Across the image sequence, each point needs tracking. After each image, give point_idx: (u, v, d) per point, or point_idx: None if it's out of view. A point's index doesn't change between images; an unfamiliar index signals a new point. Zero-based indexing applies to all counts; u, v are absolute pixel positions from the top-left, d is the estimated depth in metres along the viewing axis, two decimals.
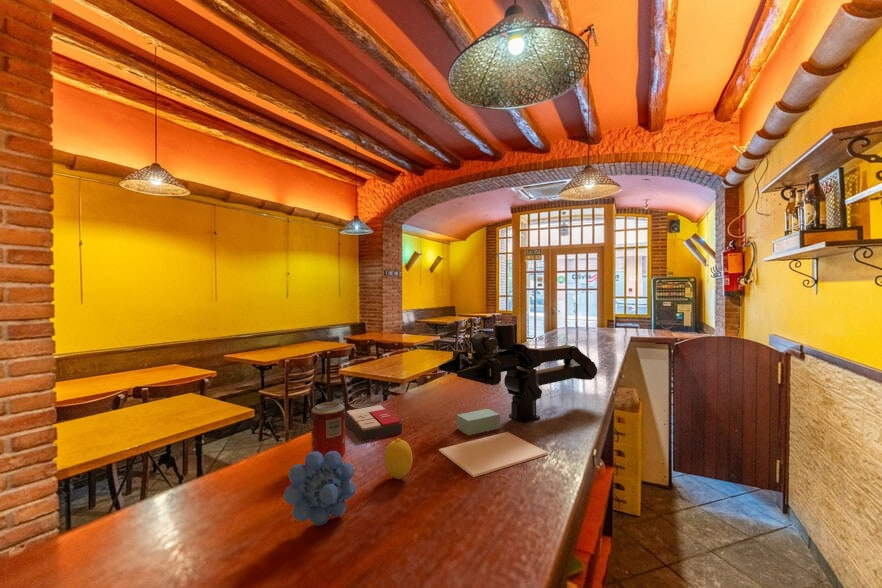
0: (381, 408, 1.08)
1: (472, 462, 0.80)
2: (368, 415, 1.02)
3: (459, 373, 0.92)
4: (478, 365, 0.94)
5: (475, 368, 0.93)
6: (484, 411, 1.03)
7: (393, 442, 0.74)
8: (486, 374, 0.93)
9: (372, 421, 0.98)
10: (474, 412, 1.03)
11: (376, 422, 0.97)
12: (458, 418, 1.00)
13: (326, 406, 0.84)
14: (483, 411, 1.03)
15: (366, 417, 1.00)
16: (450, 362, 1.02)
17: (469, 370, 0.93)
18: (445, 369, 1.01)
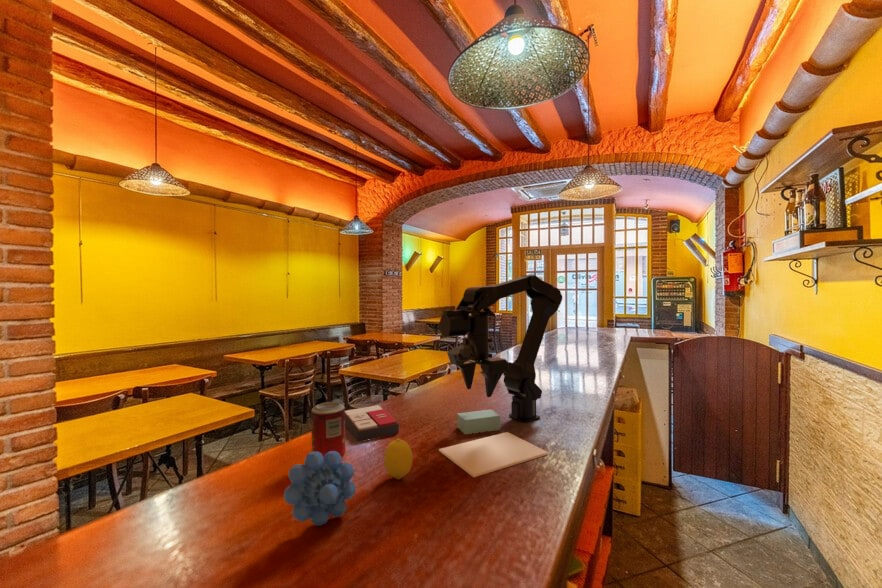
0: (379, 408, 1.08)
1: (472, 462, 0.80)
2: (365, 415, 1.02)
3: (488, 395, 0.96)
4: (486, 377, 0.95)
5: (488, 381, 0.95)
6: (486, 411, 1.03)
7: (393, 442, 0.74)
8: None
9: (369, 421, 0.98)
10: (475, 412, 1.03)
11: (373, 422, 0.97)
12: (458, 417, 1.01)
13: (326, 406, 0.84)
14: (485, 411, 1.03)
15: (363, 417, 1.00)
16: (465, 375, 1.04)
17: (488, 386, 0.96)
18: (471, 381, 1.05)
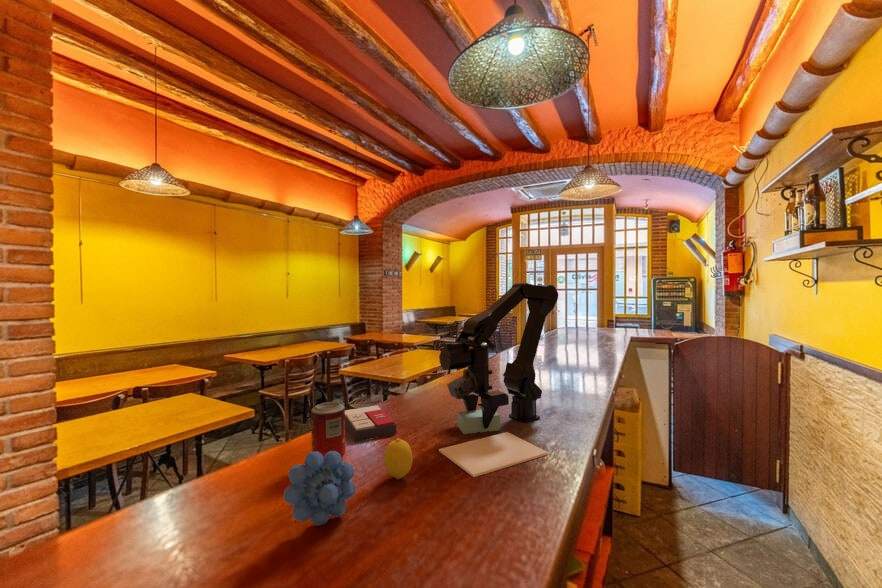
0: (377, 408, 1.08)
1: (472, 462, 0.80)
2: (363, 415, 1.02)
3: (485, 427, 0.98)
4: (483, 410, 0.96)
5: (485, 413, 0.96)
6: None
7: (393, 442, 0.74)
8: None
9: (366, 421, 0.98)
10: (476, 411, 1.03)
11: (370, 422, 0.97)
12: (458, 415, 1.02)
13: (326, 406, 0.84)
14: None
15: (361, 417, 1.00)
16: (468, 407, 1.03)
17: (485, 418, 0.97)
18: None
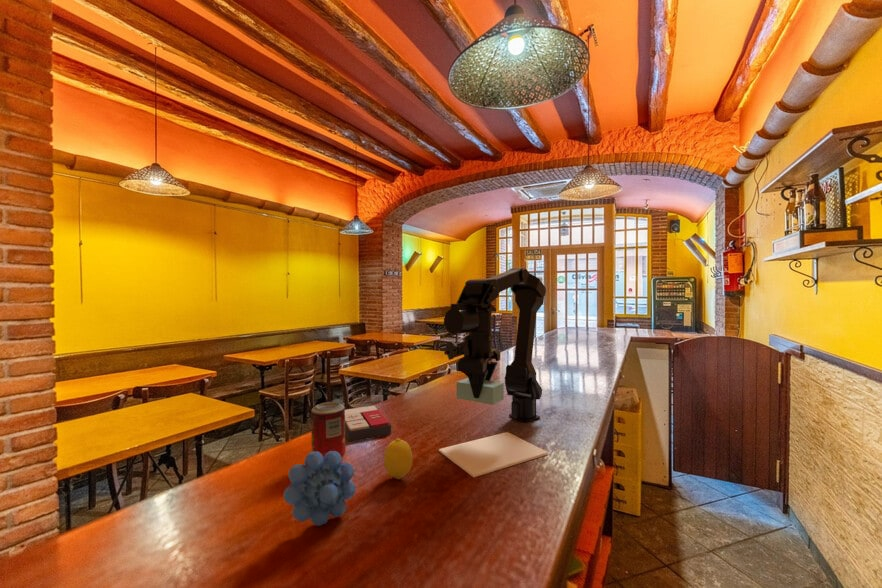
0: (374, 409, 1.07)
1: (472, 462, 0.80)
2: (359, 415, 1.02)
3: (475, 396, 0.89)
4: None
5: (470, 380, 0.88)
6: (492, 382, 0.92)
7: (393, 442, 0.74)
8: (475, 373, 0.87)
9: (361, 422, 0.97)
10: None
11: (365, 423, 0.97)
12: None
13: (326, 406, 0.84)
14: (491, 382, 0.92)
15: (356, 418, 1.00)
16: None
17: (472, 386, 0.89)
18: None
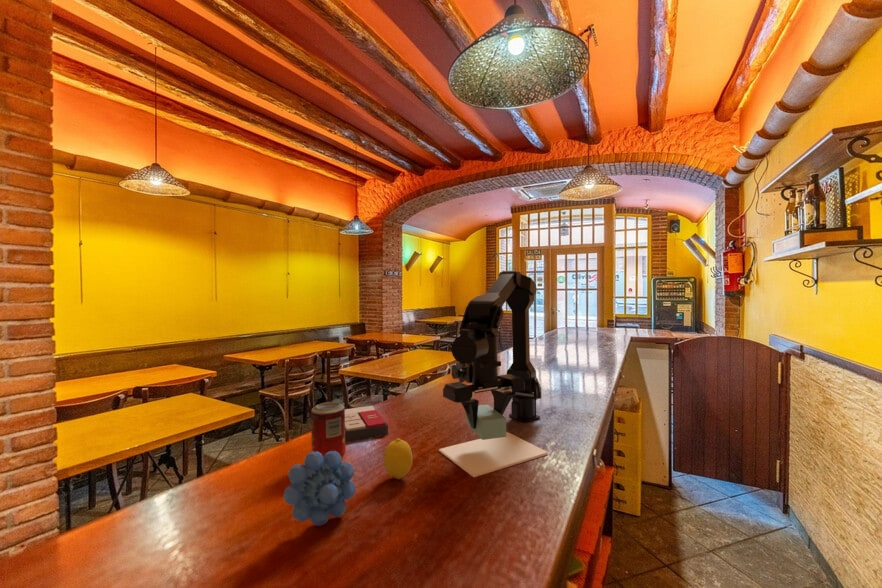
0: (371, 409, 1.07)
1: (472, 462, 0.80)
2: (356, 415, 1.02)
3: (471, 426, 0.83)
4: None
5: (464, 408, 0.83)
6: (495, 415, 0.82)
7: (393, 442, 0.74)
8: None
9: (358, 422, 0.97)
10: (493, 411, 0.85)
11: (362, 423, 0.97)
12: None
13: (326, 406, 0.84)
14: (495, 415, 0.83)
15: (353, 418, 1.00)
16: (494, 405, 0.87)
17: (467, 415, 0.83)
18: None
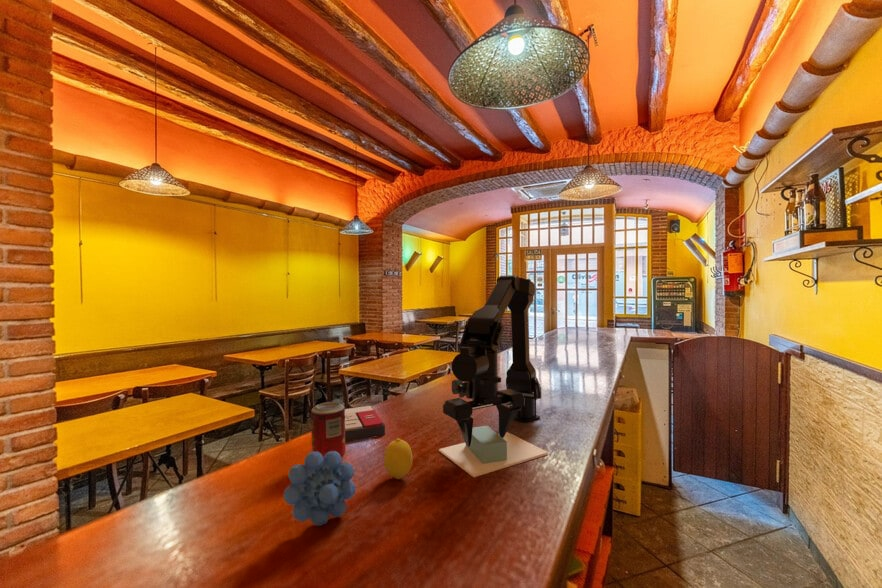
0: (369, 409, 1.07)
1: (472, 462, 0.80)
2: (354, 416, 1.02)
3: (466, 443, 0.83)
4: None
5: (459, 425, 0.83)
6: (495, 438, 0.83)
7: (393, 442, 0.74)
8: None
9: (355, 422, 0.97)
10: (493, 433, 0.85)
11: (358, 423, 0.97)
12: None
13: (326, 406, 0.84)
14: (495, 438, 0.83)
15: (350, 418, 1.00)
16: (499, 420, 0.88)
17: (462, 432, 0.83)
18: (503, 429, 0.86)
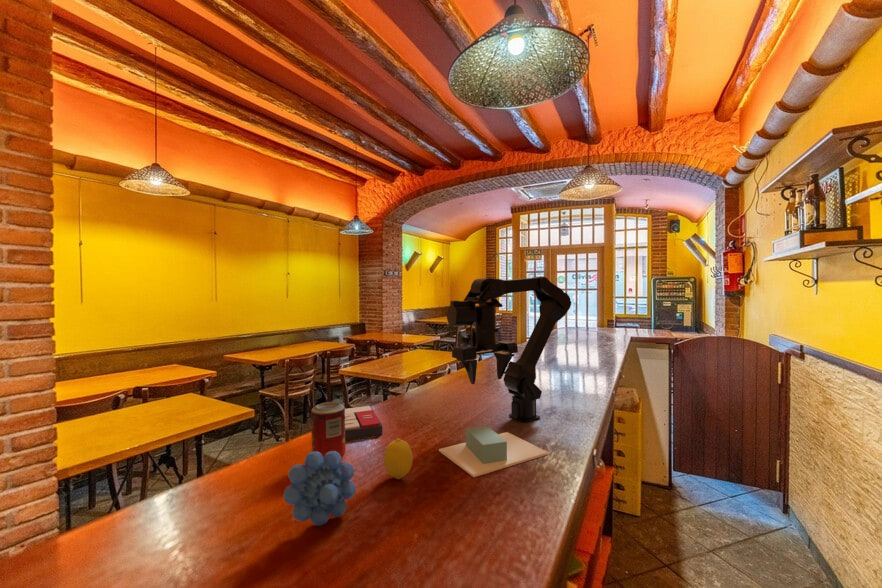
0: (368, 409, 1.07)
1: (472, 462, 0.80)
2: (352, 415, 1.02)
3: (471, 382, 1.01)
4: None
5: (465, 367, 1.01)
6: (495, 438, 0.83)
7: (393, 442, 0.74)
8: None
9: (353, 422, 0.97)
10: (493, 433, 0.85)
11: (356, 423, 0.97)
12: None
13: (326, 406, 0.84)
14: (495, 438, 0.83)
15: (348, 418, 1.00)
16: (497, 365, 1.07)
17: (467, 373, 1.01)
18: (500, 372, 1.05)
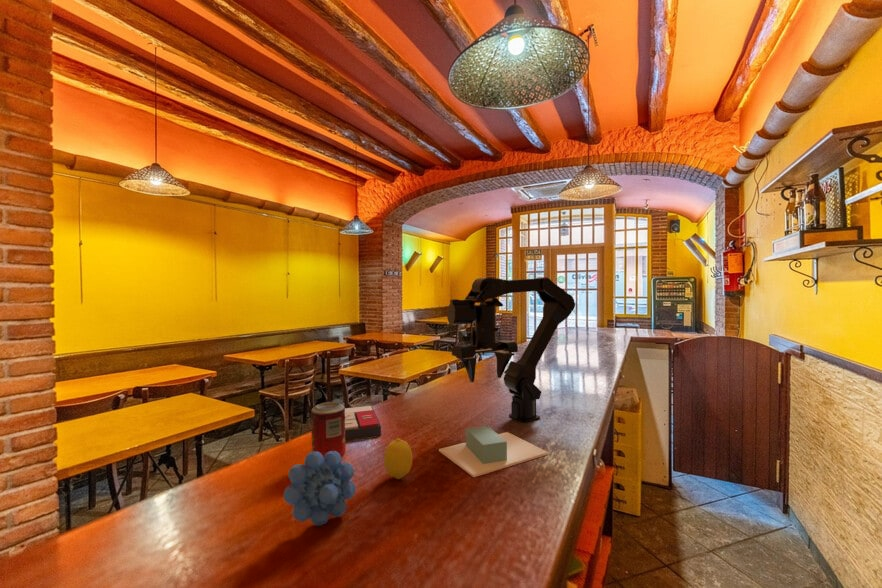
0: (369, 409, 1.07)
1: (472, 462, 0.80)
2: (352, 415, 1.02)
3: (470, 380, 1.02)
4: None
5: (464, 365, 1.02)
6: (495, 438, 0.83)
7: (393, 442, 0.74)
8: (463, 359, 1.00)
9: (351, 422, 0.97)
10: (493, 433, 0.85)
11: (355, 423, 0.97)
12: None
13: (326, 406, 0.84)
14: (495, 438, 0.83)
15: (348, 417, 1.00)
16: (497, 364, 1.07)
17: (467, 371, 1.02)
18: (500, 371, 1.06)
